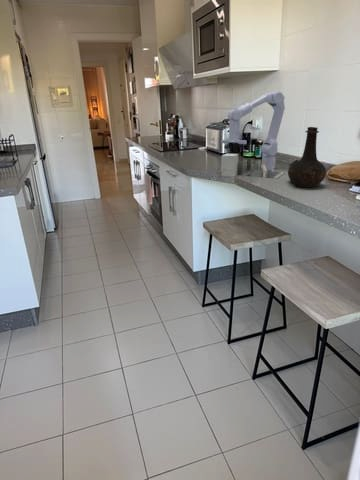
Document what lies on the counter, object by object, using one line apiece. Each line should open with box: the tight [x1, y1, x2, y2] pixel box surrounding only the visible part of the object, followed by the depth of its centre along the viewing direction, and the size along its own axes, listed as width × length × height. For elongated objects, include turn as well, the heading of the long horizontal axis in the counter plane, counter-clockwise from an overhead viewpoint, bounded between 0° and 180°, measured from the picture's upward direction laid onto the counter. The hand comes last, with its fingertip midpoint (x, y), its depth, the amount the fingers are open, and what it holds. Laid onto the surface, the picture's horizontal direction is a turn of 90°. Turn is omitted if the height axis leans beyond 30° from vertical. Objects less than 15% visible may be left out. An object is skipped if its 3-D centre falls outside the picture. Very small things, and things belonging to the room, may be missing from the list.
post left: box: [237, 161, 244, 176], centre depth 192 cm, size 2×2×8 cm
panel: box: [245, 167, 286, 180], centre depth 192 cm, size 17×18×4 cm
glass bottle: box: [287, 126, 327, 188], centre depth 166 cm, size 18×18×28 cm
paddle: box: [260, 163, 268, 172], centre depth 192 cm, size 3×1×5 cm, turn 150°
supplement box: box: [221, 153, 239, 178], centre depth 191 cm, size 7×7×13 cm
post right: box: [245, 157, 252, 171], centre depth 203 cm, size 2×2×8 cm
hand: (233, 156), depth 198 cm, fingers closed
